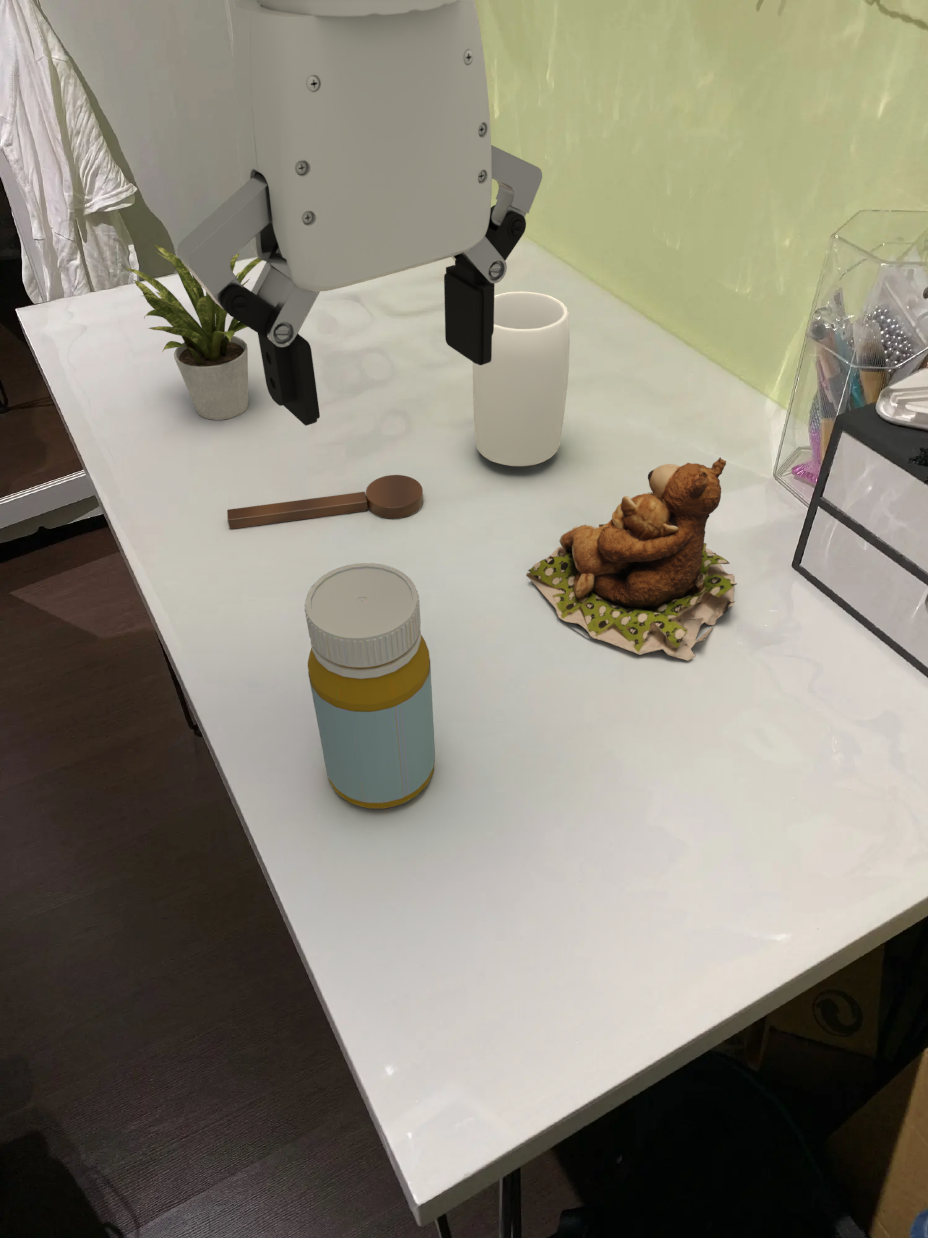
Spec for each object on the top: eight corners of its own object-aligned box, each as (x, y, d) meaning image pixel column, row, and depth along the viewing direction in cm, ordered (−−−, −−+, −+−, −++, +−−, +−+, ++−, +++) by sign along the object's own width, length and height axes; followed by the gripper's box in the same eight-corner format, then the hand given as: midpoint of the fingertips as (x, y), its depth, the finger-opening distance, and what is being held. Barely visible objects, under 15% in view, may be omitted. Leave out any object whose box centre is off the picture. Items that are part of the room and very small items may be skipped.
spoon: (230, 541, 77) (227, 530, 76) (228, 507, 80) (226, 496, 79) (427, 514, 79) (427, 503, 78) (417, 482, 83) (417, 471, 82)
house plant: (283, 358, 100) (259, 204, 89) (319, 418, 91) (297, 255, 80) (152, 385, 96) (109, 227, 85) (176, 450, 87) (131, 283, 76)
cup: (509, 420, 90) (513, 280, 81) (579, 450, 86) (592, 306, 77) (454, 457, 86) (451, 313, 76) (525, 490, 82) (532, 343, 72)
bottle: (456, 780, 58) (451, 609, 48) (361, 833, 56) (335, 664, 45) (399, 713, 63) (384, 542, 52) (309, 759, 60) (274, 588, 50)
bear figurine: (597, 515, 79) (611, 388, 71) (758, 583, 72) (796, 452, 64) (505, 598, 71) (510, 467, 63) (677, 684, 64) (707, 550, 56)
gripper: (489, -81, 38) (485, 309, 50) (83, -42, 31) (189, 402, 43) (607, -61, 34) (572, 362, 46) (164, -10, 27) (258, 476, 38)
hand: (386, 381), depth 44 cm, fingers open, 9 cm apart
